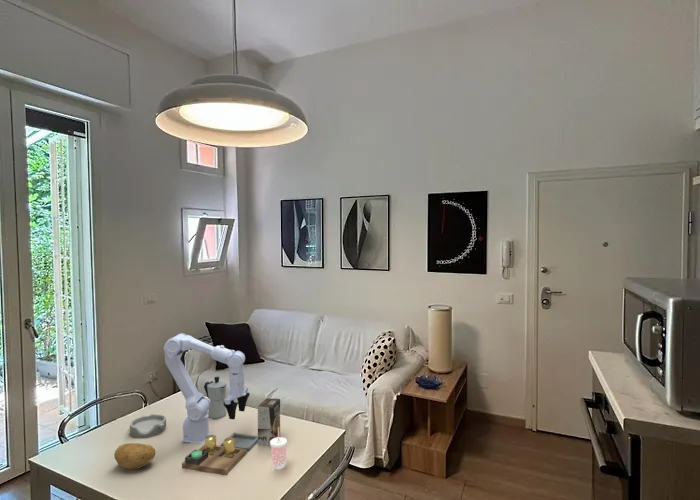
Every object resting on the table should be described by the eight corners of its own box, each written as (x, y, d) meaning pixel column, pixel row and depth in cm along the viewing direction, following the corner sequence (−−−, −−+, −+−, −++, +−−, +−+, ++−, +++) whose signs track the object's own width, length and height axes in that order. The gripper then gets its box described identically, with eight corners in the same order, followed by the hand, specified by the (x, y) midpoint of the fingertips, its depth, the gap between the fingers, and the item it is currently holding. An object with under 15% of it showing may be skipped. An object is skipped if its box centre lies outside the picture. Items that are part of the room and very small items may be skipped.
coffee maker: (233, 414, 184) (233, 376, 183) (218, 422, 176) (218, 382, 176) (212, 407, 191) (212, 371, 191) (197, 414, 184) (196, 376, 184)
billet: (222, 460, 145) (221, 441, 145) (228, 454, 149) (228, 436, 148) (231, 462, 144) (231, 443, 143) (237, 456, 147) (237, 438, 147)
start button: (189, 461, 140) (189, 454, 140) (195, 456, 144) (195, 449, 144) (198, 462, 139) (198, 456, 139) (204, 457, 143) (204, 451, 143)
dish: (168, 433, 166) (168, 421, 166) (131, 442, 158) (131, 430, 158) (163, 420, 178) (163, 409, 178) (128, 429, 170) (128, 417, 170)
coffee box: (272, 448, 153) (272, 407, 153) (257, 446, 155) (256, 406, 154) (281, 437, 162) (280, 398, 162) (266, 435, 164) (266, 397, 163)
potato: (146, 475, 136) (146, 452, 135) (108, 473, 137) (107, 451, 136) (161, 460, 145) (161, 438, 145) (125, 458, 146) (125, 437, 146)
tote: (220, 449, 153) (220, 444, 153) (234, 436, 162) (234, 432, 162) (248, 453, 150) (248, 448, 150) (260, 440, 159) (260, 436, 159)
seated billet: (202, 457, 147) (202, 439, 147) (209, 452, 150) (209, 434, 150) (212, 459, 146) (212, 440, 146) (218, 453, 150) (218, 435, 149)
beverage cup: (279, 459, 145) (279, 421, 145) (290, 465, 142) (290, 426, 141) (266, 466, 141) (266, 428, 141) (277, 472, 137) (277, 433, 137)
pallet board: (181, 468, 140) (181, 457, 140) (205, 448, 153) (205, 438, 153) (226, 475, 135) (226, 464, 135) (246, 454, 149) (246, 444, 149)
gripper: (236, 389, 153) (236, 423, 153) (254, 377, 167) (254, 408, 167) (220, 387, 154) (220, 421, 154) (239, 375, 168) (239, 407, 169)
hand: (237, 414), depth 161 cm, fingers open, 7 cm apart
